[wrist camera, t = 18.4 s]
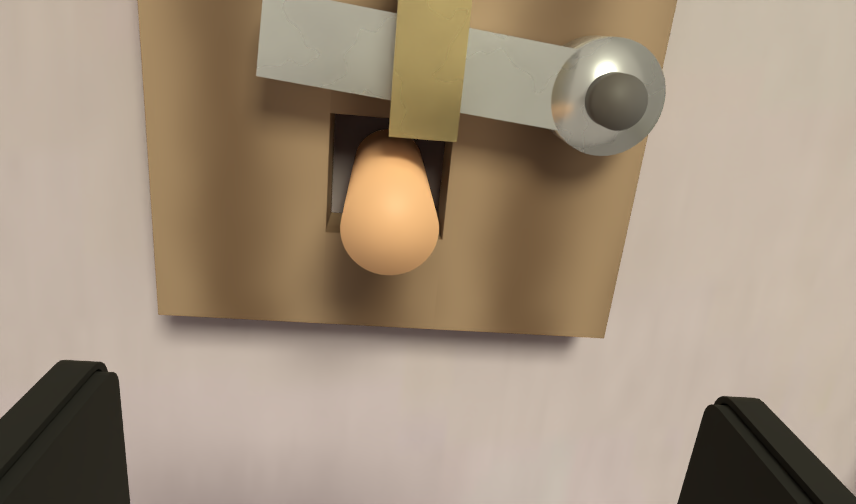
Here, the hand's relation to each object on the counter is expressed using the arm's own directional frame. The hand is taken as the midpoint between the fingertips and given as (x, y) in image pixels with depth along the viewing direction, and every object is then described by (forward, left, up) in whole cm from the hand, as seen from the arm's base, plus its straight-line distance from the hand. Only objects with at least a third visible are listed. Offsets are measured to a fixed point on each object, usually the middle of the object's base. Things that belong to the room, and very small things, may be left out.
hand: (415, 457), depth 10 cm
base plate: (0, -2, -21) cm, 21 cm away
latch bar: (-2, -5, -18) cm, 19 cm away
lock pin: (0, 0, -21) cm, 21 cm away
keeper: (-1, -6, -18) cm, 19 cm away
